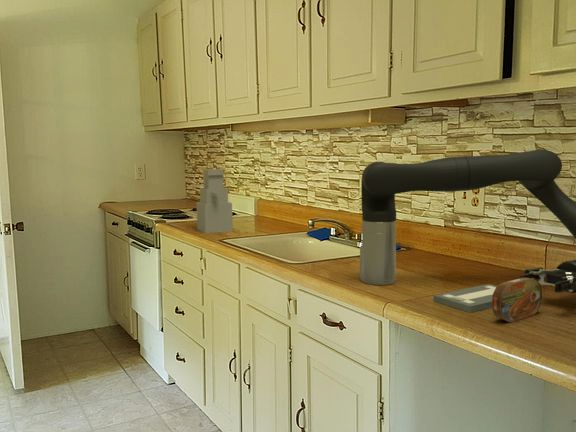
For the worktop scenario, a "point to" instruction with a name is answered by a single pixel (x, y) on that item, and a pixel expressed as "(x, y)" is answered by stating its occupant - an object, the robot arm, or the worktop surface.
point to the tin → (517, 299)
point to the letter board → (468, 298)
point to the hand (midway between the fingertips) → (538, 283)
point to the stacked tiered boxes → (214, 204)
